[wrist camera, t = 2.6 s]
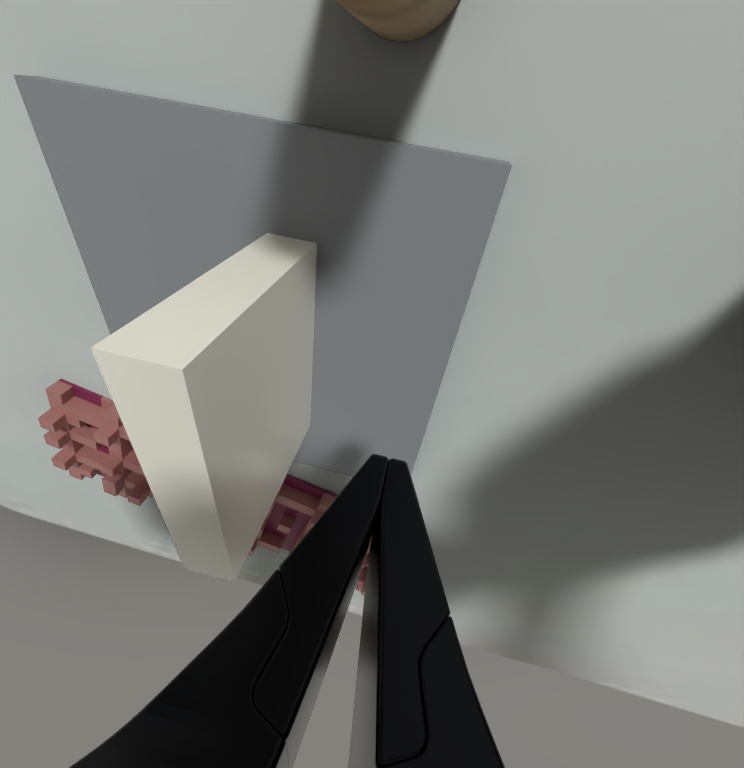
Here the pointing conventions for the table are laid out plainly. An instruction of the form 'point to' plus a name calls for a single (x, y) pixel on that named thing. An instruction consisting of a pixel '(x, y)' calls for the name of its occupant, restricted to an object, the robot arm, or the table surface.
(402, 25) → the turner
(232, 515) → the tile
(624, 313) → the table surface
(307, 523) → the red lattice rack
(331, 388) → the mat
